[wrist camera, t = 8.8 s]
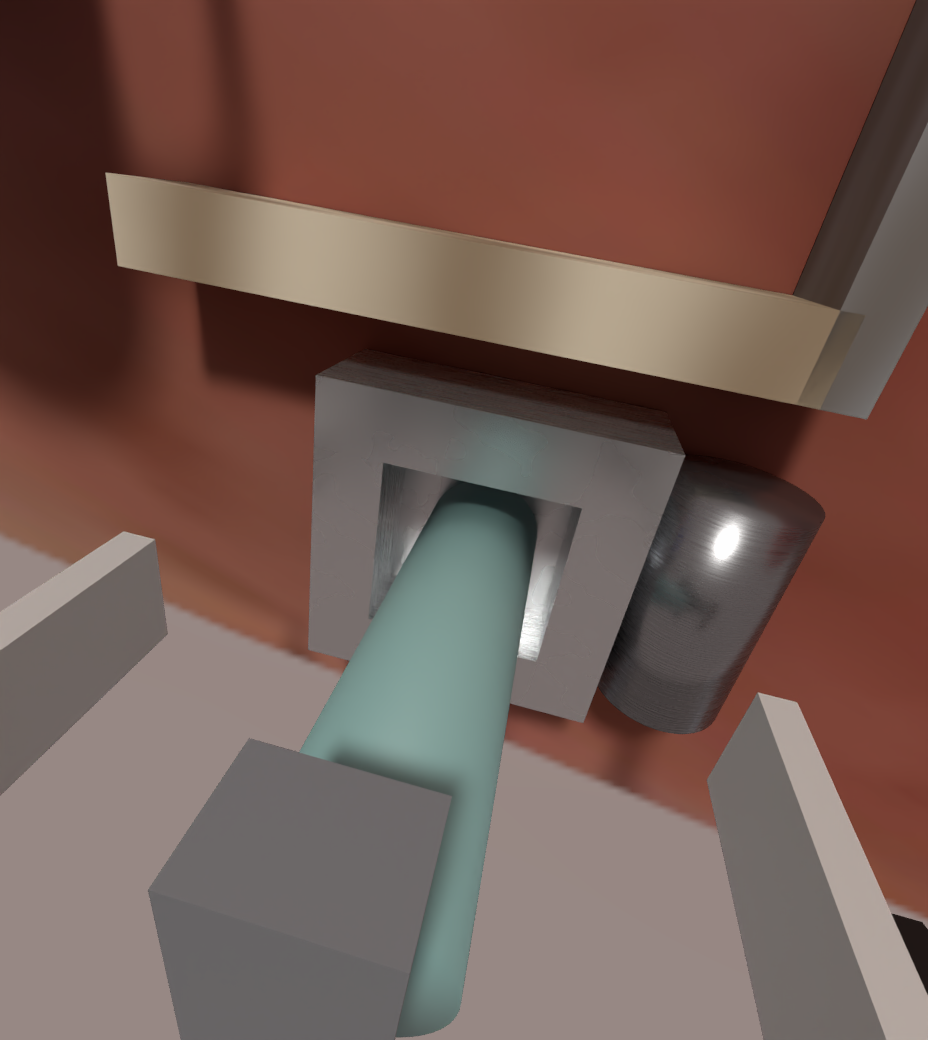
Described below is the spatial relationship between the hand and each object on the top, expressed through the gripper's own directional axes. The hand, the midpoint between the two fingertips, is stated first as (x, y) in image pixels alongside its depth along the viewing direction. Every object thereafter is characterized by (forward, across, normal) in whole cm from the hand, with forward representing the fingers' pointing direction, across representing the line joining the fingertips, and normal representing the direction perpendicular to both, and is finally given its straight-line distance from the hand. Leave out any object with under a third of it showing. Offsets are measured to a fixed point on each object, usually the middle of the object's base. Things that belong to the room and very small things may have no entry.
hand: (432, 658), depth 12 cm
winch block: (+7, +2, 0) cm, 7 cm away
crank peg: (+6, 0, 0) cm, 6 cm away
